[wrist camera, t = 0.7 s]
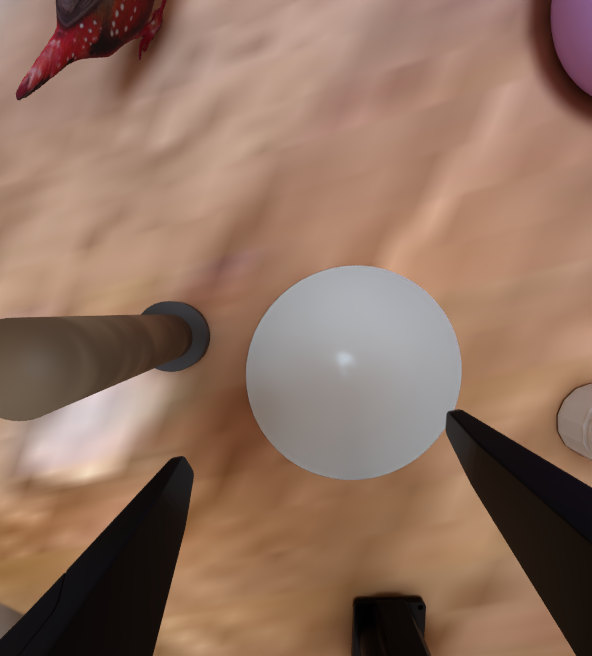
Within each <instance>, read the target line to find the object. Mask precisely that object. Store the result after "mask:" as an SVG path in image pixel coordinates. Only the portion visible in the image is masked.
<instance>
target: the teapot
mask: <svg viewBox="0 0 592 656" xmlns="http://www.w3.org/2000/svg"><path fill="white" fill-rule="evenodd" d="M550 20H551V32H552V37H553V42H554V46H555V49H556V52H557V55H558V57H559V60H560V62H561V64H562V66H563V67H564V69H565V71H566V72H567V74H568V75H569V76H570V78H571V79H572V80H573V81H574V82H575V84H577V85H578V86H579V87H580V88H581V89H582V90H583V91H585V92H586V93H588V94H589V95H591V96H592V0H552V3H551V17H550Z"/></svg>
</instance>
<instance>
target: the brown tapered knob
mask: <svg viewBox="0 0 592 656" xmlns="http://www.w3.org/2000/svg"><path fill="white" fill-rule="evenodd" d="M209 341H210V332H209V327H208V324H207V322H206V320H205V318H204V317H203V315H202V314H201V313H200V312H199V311H198V310H197V309H195V308H194V307H192V306H190V305H188V304H185V303H181V302H170V301H167V302H160V303H157V304H154V305H152V306H150V307H149V308H147V309H146V310H145V311H144V312H143V313H142V314H141V315H111V316H68V317H26V318H5V319H0V418H3V419H6V420H12V421H27V420H32V419H36V418H39V417H41V416H43V415H46V414H48V413H50V412H53V411H55V410H58V409H60V408H62V407H65V406H67V405H69V404H72V403H74V402H76V401H79V400H81V399H83V398H86V397H88V396H90V395H93V394H95V393H97V392H100V391H102V390H104V389H107V388H109V387H111V386H114V385H116V384H118V383H121V382H123V381H125V380H128V379H130V378H132V377H135V376H137V375H139V374H142V373H144V372H146V371H149V370H151V369H153V368H156V369H158V370H161V371H168V372H173V371H180V370H183V369H185V368H187V367H189V366H191V365H193V364H194V363H196V362H197V361H198V360H200V359H201V358H202V356H203V355H204V354H205V352H206V350H207V348H208V345H209Z"/></svg>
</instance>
